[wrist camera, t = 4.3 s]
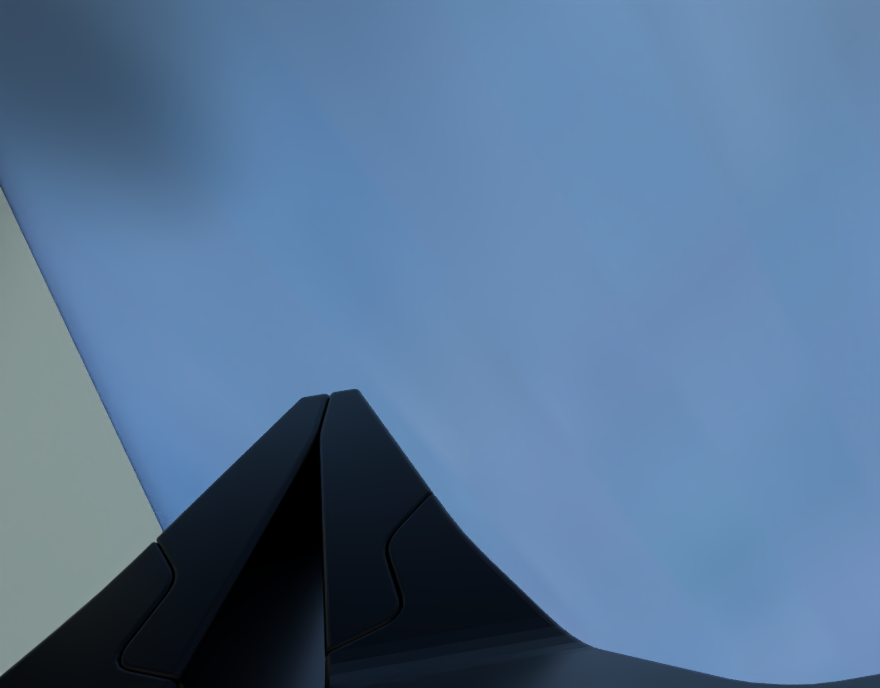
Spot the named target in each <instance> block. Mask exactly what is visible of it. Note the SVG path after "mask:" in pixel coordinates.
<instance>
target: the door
mask: <svg viewBox="0 0 880 688" xmlns="http://www.w3.org/2000/svg"><path fill="white" fill-rule="evenodd" d="M162 532H163V531H162V529H161V527H160V525H159V523H158V520H157V518H156V516H155V514H154V512H153V510H152V508H151V506H150V503H149V501H148V499H147V497H146V495H145V493H144V491H143V489H142V486H141V484H140V482H139V480H138V478H137V476H136V474H135V472H134V469H133V467H132V465H131V463H130V461H129V459H128V457H127V455H126V452H125V450H124V448H123V446H122V444H121V442H120V440H119V438H118V435H117V433H116V431H115V429H114V427H113V425H112V423H111V421H110V418H109V416H108V414H107V412H106V410H105V408H104V406H103V404H102V402H101V399H100V397H99V395H98V393H97V391H96V389H95V387H94V385H93V382H92V380H91V378H90V376H89V374H88V372H87V370H86V368H85V365H84V363H83V361H82V359H81V357H80V355H79V353H78V351H77V348H76V346H75V344H74V342H73V340H72V338H71V336H70V334H69V331H68V329H67V327H66V325H65V323H64V321H63V319H62V317H61V314H60V312H59V310H58V308H57V306H56V304H55V302H54V300H53V298H52V295H51V293H50V291H49V289H48V287H47V285H46V283H45V281H44V278H43V276H42V274H41V272H40V270H39V268H38V266H37V264H36V261H35V259H34V257H33V255H32V253H31V251H30V249H29V247H28V244H27V242H26V240H25V238H24V236H23V234H22V232H21V230H20V227H19V225H18V223H17V221H16V219H15V217H14V215H13V213H12V210H11V208H10V206H9V204H8V202H7V200H6V198H5V196H4V193H3V191H2V189H1V187H0V676H1V675H2V674H4V673H5V672H6V671H7V670H8V669H10V668H11V667H12V666H13V665H14V664H15V663H17V662H18V661H19V660H20V659H21V658H23V657H24V656H25V655H26V654H27V653H29V652H30V651H31V650H32V649H33V648H35V647H36V646H37V645H38V644H39V643H41V642H42V641H43V640H44V639H45V638H47V637H48V636H49V635H50V634H51V633H53V632H54V631H55V630H56V629H57V628H58V627H60V626H61V625H62V624H63V623H64V622H65V621H67V620H68V619H69V618H70V617H71V616H72V615H74V614H75V613H76V612H77V611H78V610H79V609H81V608H82V607H83V606H84V605H85V604H86V603H87V602H89V601H90V600H91V599H92V598H93V597H94V596H96V595H97V594H98V593H99V592H100V591H101V590H102V589H103V588H104V587H105V586H107V585H108V584H109V583H110V582H111V581H112V580H113V579H114V578H115V577H116V576H117V575H118V574H119V573H121V572H122V571H123V570H124V569H125V568H126V567H127V566H128V565H129V564H130V563H131V562H132V561H133V560H134V559H135V558H136V557H137V556H139V555H140V554H141V553H142V552H143V551H144V550H145V549H146V548H147V547H148V546H149V545H150V544H151V543H152V542H156V543H157V541H156V539H157V537H158V536H159V535H160V534H161V533H162Z"/></svg>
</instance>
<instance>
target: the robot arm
mask: <svg viewBox="0 0 880 688" xmlns="http://www.w3.org/2000/svg"><path fill="white" fill-rule="evenodd" d="M156 541H157V543H156V542H152V543H151V544H150V545H149V546H148V547H147V548H146V549H145V550H144V551H143V552H142V553H141V554H140V555H139V556H137V557H136V558H135V559H134V560H133V561H132V562H131V563H130V564H129V565H128V566H127V567H126V568H125V569H124V570H123V571H122V572H121V573H119V574H118V575H117V576H116V577H115V578H114V579H113V580H112V581H111V582H110V583H109V584H108V585H107V586H105V587H104V588H103V589H102V590H101V591H100V592H99V593H98V594H97V595H96V596H94V597H93V598H92V599H91V600H90V601H89V602H87V603H86V604H85V605H84V606H83V607H82V608H81V609H79V610H78V611H77V612H76V613H75V614H74V615H72V616H71V617H70V618H69V619H68V620H67V621H65V622H64V623H63V624H62V625H61V626H60V627H58V628H57V629H56V630H55V631H54V632H53V633H51V634H50V635H49V636H48V637H47V638H45V639H44V640H43V641H42V642H41V643H39V644H38V645H37V646H36V647H35V648H33V649H32V650H31V651H30V652H29V653H27V654H26V655H25V656H24V657H23V658H21V659H20V660H19V661H18V662H17V663H15V664H14V665H13V666H12V667H11V668H10V669H8V670H7V671H6V672H5V673H4V674H2V675H1V676H0V688H880V674H877V675H871V676H865V677H860V678H854V679H848V680H842V681H836V682H827V683H819V684H804V685H780V684H766V683H752V682H745V681H739V680H733V679H727V678H723V677H719V676H714V675H710V674H705V673H701V672H697V671H692V670H688V669H684V668H679V667H675V666H671V665H666V664H662V663H658V662H653V661H649V660H645V659H640V658H636V657H632V656H627V655H623V654H619V653H614V652H610V651H606V650H601V649H598V648H594V647H592V646H590V645H588V644H585V643H583V642H582V641H580V640H579V639H577V638H575V637H574V636H572V635H571V634H569V633H568V632H567V631H565V630H564V629H563V628H561V627H560V626H559V625H558V624H557V623H556V622H555V621H554V620H553V619H552V618H550V617H549V616H548V615H547V614H546V613H545V612H544V611H543V610H542V609H541V608H540V607H539V606H538V605H537V604H536V603H535V602H534V601H533V600H532V599H531V598H530V597H528V596H527V595H526V594H525V593H524V592H523V591H522V590H521V589H520V588H519V587H518V586H517V585H516V584H515V583H514V582H513V581H512V580H511V579H510V578H509V577H508V576H507V575H506V574H504V573H503V572H502V571H501V570H500V569H499V568H498V567H497V566H496V565H495V564H494V563H493V562H492V561H491V560H490V559H489V558H488V557H487V556H486V555H485V554H484V553H483V552H482V551H481V550H480V549H479V548H478V547H477V546H476V545H475V544H474V543H473V542H472V541H471V540H470V539H469V538H468V536H467V535H466V534H465V533H464V532H463V531H462V530H461V528H460V527H459V526H458V525H457V523H456V522H455V521H454V520H453V518H452V517H451V516H450V515H449V513H448V512H447V511H446V510H445V508H444V507H443V505H442V504H441V503H440V501H439V500H438V499H437V497H436V496H434V494H433V492H432V491H431V489H430V488H429V487H428V485H427V484H426V482H425V481H424V480H423V478H422V477H421V475H420V474H419V473H418V471H417V470H416V469H415V467H414V466H413V464H412V463H411V462H410V460H409V459H408V457H407V456H406V455H405V453H404V452H403V451H402V449H401V448H400V446H399V445H398V444H397V442H396V441H395V439H394V438H393V437H392V435H391V434H390V433H389V431H388V430H387V428H386V427H385V426H384V424H383V423H382V421H381V420H380V419H379V417H378V416H377V415H376V413H375V412H374V410H373V409H372V408H371V406H370V405H369V403H368V402H367V401H366V399H365V398H364V397H363V395H362V394H361V392H360V391H359V390H357V389H351V390H345V391H339V392H334V393H332V394H331V395H330V396H329V395H327V394H321V395H315V396H309V397H304V398H301V399H300V400H299V401H298V402H297V403H296V404H295V405H294V406H293V407H292V408H291V409H290V410H289V411H288V412H286V413H285V414H284V415H283V416H282V417H281V418H280V419H279V420H278V421H277V422H276V423H275V424H274V425H273V426H272V427H271V428H270V429H269V430H268V431H267V432H266V433H265V434H264V435H263V436H262V437H261V438H260V439H259V440H258V441H257V442H256V443H254V444H253V445H252V446H251V447H250V448H249V449H248V450H247V451H246V452H245V453H244V454H243V455H242V456H241V457H240V458H239V459H238V460H237V461H236V462H235V463H234V464H233V465H232V466H231V467H230V468H229V469H228V470H227V471H226V472H225V473H223V474H222V475H221V476H220V477H219V478H218V479H217V480H216V481H215V482H214V483H213V484H212V485H211V486H210V487H209V488H208V489H207V490H206V491H205V492H204V493H203V494H202V495H201V496H200V497H199V498H198V499H197V500H196V501H195V502H194V503H193V504H191V505H190V506H189V507H188V508H187V509H186V510H185V511H184V512H183V513H182V514H181V515H180V516H179V517H178V518H177V519H176V520H175V521H174V522H173V523H172V524H171V525H170V526H169V527H168V528H167V529H166V530H165V531H164V532H162V533H161V534H160V535H159V536H158V537H157V539H156Z"/></svg>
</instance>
